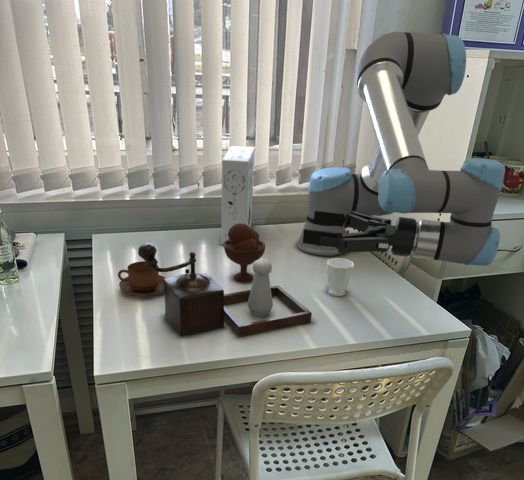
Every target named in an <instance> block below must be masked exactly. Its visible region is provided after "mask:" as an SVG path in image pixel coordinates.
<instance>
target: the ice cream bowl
mask: <svg viewBox="0 0 524 480" xmlns="http://www.w3.org/2000/svg"><path fill="white" fill-rule="evenodd" d="M228 237H229V239H228V240H226V241H224V242H223V244H224V245H223V250H224V253H225V255H226V258H228V259H229V260H230V261H232V262H233V263H235V264H236V265H239V266H240V268H239V269H240V270H239V272H238V273H235V274H234V275H233V278H232V279H233V281H235V282H237V283H241V284H245V283H252V282H253V278H254V275H253V274H251V273H249V272H248V266H250V265H253V263H254V261H256V260H259V259H262V257H263V256H264V253H265V251H266V243H265V242H264V241H262V240H260V234H259V233H258V232H257V231H256V230H255V229H253V228H252V227H251V228H250V227H249V226H248V225H246V224H242V223H238V224H235V225H233V226H232V227H231V228H230V229H229V232H228Z"/></svg>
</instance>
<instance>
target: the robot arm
mask: <svg viewBox="0 0 524 480" xmlns="http://www.w3.org/2000/svg"><path fill="white" fill-rule="evenodd" d="M466 68H467V49H466V45H465V42H464V41H463V39H462V38H461V37H460V36H458V35H454V34H446V33H445V32H442V33H440V34H439V33H423V32H407V31H406V32H405V31H391V32H387V33H384V34H383V35H380V36H378V37H377V38H376V39H375V40H373V41H372V42H371V43H370V44H369V45H368V46H367V47H366V48H365V50H364V52H363V53H362V55H361V56H360V58H359V61H358V63H357V67H356V72H355V84H356V89H357V92H358V96H359V98H360V99H361V100H362V101H363V102H364V103H365V104H366V107H367V109H368V113H369V117H370V121H371V125H372V128H373V132H374V135H375V140H376V142H377V147H376V148H375V151H374V153H373V157H372V159H371V161H370V162H368V163H366V164H365V165H364V166H363V168H362V170H361V172H360V173H352V170H351V169H350V168H348V167H339V166H331V167H324V168H320V169H318V170H315V171H313V172H312V174H311V175H310V178H309V185H308V189H307V190H308V194H307V196H308V197H307V207H306V219H305V223H304V225H303V228H302V230H301V233H300V235H299V237H298V241H297V242H298V243H297V247H298V249H300V250H301V251H302V252H304V253H307V254H311V255H315V256H321V257H334V256H335V257H336V256H340V255H343V254H345V253H363V252H364V253H368V252H369V253H370V252H372V253H373V252H377V253H388V250H389V247H391V255H393V256H397V257H398V256H399V257H407V258H408V257H410V256H411V255H412V257H413V258H416V259H421V260H422V261H423V262H426V261H427V260H432V261H440V262H447V263H454V264H460V265H465V266H483V267H484V266H489V265H491V264H492V263H493V262H494V260H495V259H496V256H497V254H498V250H499V244H500V240H501V231H500V230H499V228H497V227H494V226H493V223H492V222H493V217H494V214H495V211H496V206H497V204H498V201H499V197H500V194H501V191H502V189H503V185H504V179H505V172H506V167H505V165H504V164H503V163H502V162H500V161H498V160H494V159H489V158H480V157H473V158H467V159H465V160H463V162H462V165H461V167H460V170H438V169H437V170H434V169H429V166H428V164H427V160H426V158H425V154H424V151H423V148H422V144H421V141H420V139H419V134H420V132H421V131H422V128H423V126H424V124H425V122H426V120H427V119H428V115H429V114H430V112H431V111H434V110H437V109H438V108H439V107H440V106H441V103H442V101H443V99H445V98H444V97H445V96H446V95H447V96H452V95H454V94H457V93H458V92H459V91H460V89H461V87H462V86H463V82H464V80H465V75H466V70H467V69H466ZM394 213H399V214H450V216H449V221H440V220H432V219H423V218H420V219H419V220H418V221H417V219H415V218H411V217H402V216H399V217H397V219H396V221H395V225H392V221H393V220H392V219H388V218H382V217H381V216H389V215H392V214H394ZM377 216H378V217H377ZM349 228H351V229H354V230H356V231H358V232H350V233H347V231H346V229H349Z"/></svg>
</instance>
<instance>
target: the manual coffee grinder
mask: <svg viewBox="0 0 524 480" xmlns="http://www.w3.org/2000/svg"><path fill="white" fill-rule="evenodd" d="M137 250H138V251H137V254H138V256H139V257H140V258H141V259H142V260H143V261H145V266H146V267H151V268H152V269H154V270H155V271H158V272H159V273H169V272H173V271H176V270H177V271H178V270H181V269H184V268H186V267H189V266H190V269H189V268H186V269H185V270H184V272H185V273H182V274H178V275H176V276H174V277H165V278H166V279H164V291H163V293H164V316H165V319H166V321H167V323H168V324H169V325H170V327H171V328H172V329H173V331H174V332H175V333H176V334H177V335H178V336H180V337H190V336H194V335H198V334H204V333H208V332H212V331H216V330H220V329H224V328H225V321H224V294H225V291H224V289H223V288H222V286H221V285H220V284H219V283H218V282H217V281H216V280H215V279H214V278H213V277H212V276H211V275H209V273H207V272H206V271H205V272H200V273H199V272H196V263H197V258H196V255H197V254H196V253H195V252H194V251H190V252H189V259H188V260H187V261H185V262H183V263H179V264H177V265H173V266H169V267H160V266H158V267H157V266H156V265H158V263H159V261H158V260H157V258H156V254H157V252H158V251H157V250H158V249H157V248H156V246H155V245H154V244H153V243H149V242H146V243H142V244H141V245H140V246H139V247H138V249H137Z"/></svg>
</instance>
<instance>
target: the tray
mask: <svg viewBox="0 0 524 480" xmlns="http://www.w3.org/2000/svg"><path fill="white" fill-rule="evenodd" d="M270 287H271V294H272V298H274V297H276V298H277V299H278V300H280V301H281V302H282V304H284V305H285V306H286V307H288V308H289V309H290V310H292V311H293V312H294V313H292V314H287V315H286V314H285V315H282V316H276V317H271V318H266V319H261V320H256V321H251V322H245V323H241V322H240V321H239V320H238V319H237V317H235V316H234V315H233V313H232V312H231V311H230V310H229V309H228V308H227V307H226V306H230V305H235V304H241V303H248V300H249V295H250V291H251V289H249V290H241V291H236V292H229V293H224V323H226V324H227V326H228V327H229V328H230V329H231V331H232V332H234V334H235V335H236V337H238V338H241V337H246V336H251V335H256V334H260V333H266V332H270V331H276V330H281V329H285V328H290V327H296V326H300V325H305V324H310V323H312V316H313V315H312V314H313V313H312V311H310V310H309V309H308V308H307V307H306V306H304V305H303V304H302V303H301V302H299V301H298V300H297V299H296V298H295V297H293V296H292V295H291V294H290V293H289V292H287V291H286V290H285V289H283V288H282V287H281V286H280V285H272V286H271V285H270Z"/></svg>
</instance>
